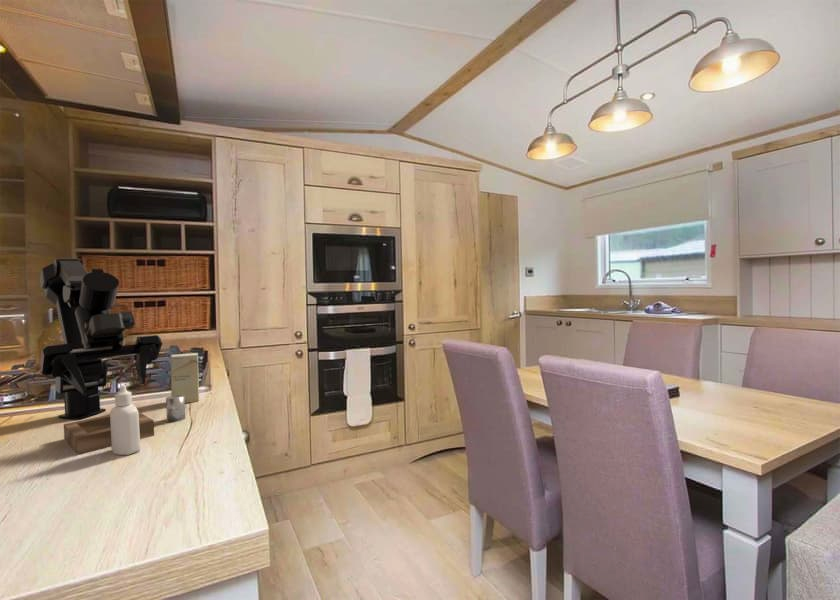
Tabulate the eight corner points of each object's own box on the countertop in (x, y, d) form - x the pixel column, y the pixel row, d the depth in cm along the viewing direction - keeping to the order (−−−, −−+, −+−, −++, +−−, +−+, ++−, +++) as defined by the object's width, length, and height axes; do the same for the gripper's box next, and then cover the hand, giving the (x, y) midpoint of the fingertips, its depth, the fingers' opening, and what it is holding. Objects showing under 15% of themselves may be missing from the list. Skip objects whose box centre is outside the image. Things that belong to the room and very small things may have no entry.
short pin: (162, 421, 92) (161, 399, 92) (175, 416, 96) (174, 394, 96) (176, 422, 91) (175, 399, 91) (189, 417, 95) (188, 395, 95)
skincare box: (171, 405, 105) (169, 357, 104) (172, 400, 109) (170, 354, 108) (199, 401, 108) (197, 354, 107) (199, 397, 112) (198, 352, 111)
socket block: (64, 439, 82) (63, 424, 82) (135, 422, 92) (134, 409, 91) (78, 454, 75) (77, 438, 75) (154, 435, 84) (153, 420, 84)
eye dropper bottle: (140, 443, 79) (137, 381, 79) (140, 453, 75) (137, 387, 74) (112, 448, 77) (109, 384, 77) (110, 459, 72) (106, 391, 72)
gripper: (38, 301, 74) (54, 369, 68) (156, 297, 89) (179, 353, 82) (34, 341, 80) (48, 409, 73) (146, 331, 94) (166, 387, 87)
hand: (115, 387), depth 79 cm, fingers open, 9 cm apart
